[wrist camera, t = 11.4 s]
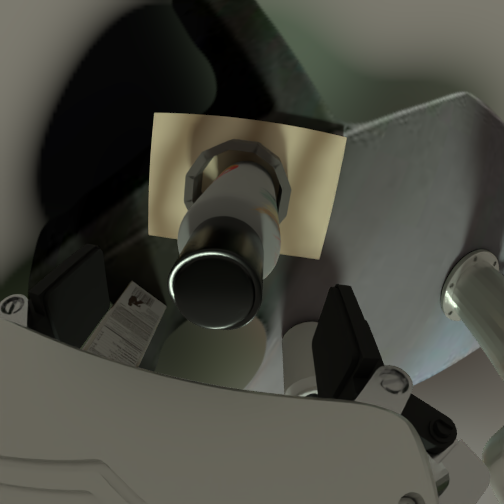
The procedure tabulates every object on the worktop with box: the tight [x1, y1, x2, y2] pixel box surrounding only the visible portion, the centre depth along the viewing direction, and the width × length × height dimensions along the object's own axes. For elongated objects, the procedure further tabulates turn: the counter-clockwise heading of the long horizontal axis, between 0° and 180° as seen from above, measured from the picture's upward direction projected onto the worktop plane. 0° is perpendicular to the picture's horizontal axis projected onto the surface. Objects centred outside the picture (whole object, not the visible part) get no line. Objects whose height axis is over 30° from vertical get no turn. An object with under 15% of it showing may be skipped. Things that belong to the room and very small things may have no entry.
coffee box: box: [82, 281, 166, 367], centre depth 31 cm, size 9×6×16 cm
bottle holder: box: [148, 113, 347, 260], centre depth 27 cm, size 20×14×5 cm
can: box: [282, 322, 318, 398], centre depth 33 cm, size 8×8×12 cm
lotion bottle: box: [167, 161, 281, 330], centre depth 19 cm, size 6×6×20 cm
